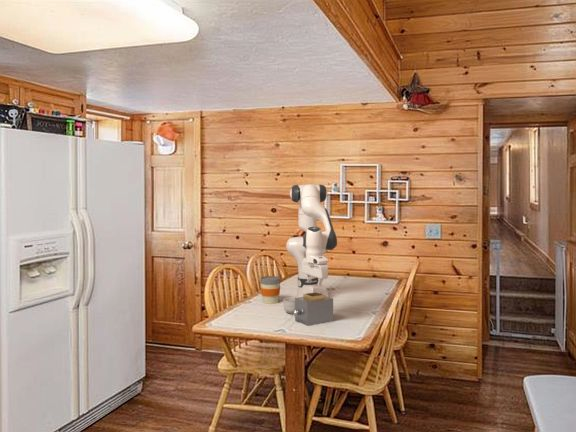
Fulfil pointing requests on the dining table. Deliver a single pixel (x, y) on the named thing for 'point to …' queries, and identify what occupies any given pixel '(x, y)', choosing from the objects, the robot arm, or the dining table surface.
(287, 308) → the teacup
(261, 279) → the reusable coffee cup
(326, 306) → the box
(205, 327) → the dining table surface
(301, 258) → the robot arm
